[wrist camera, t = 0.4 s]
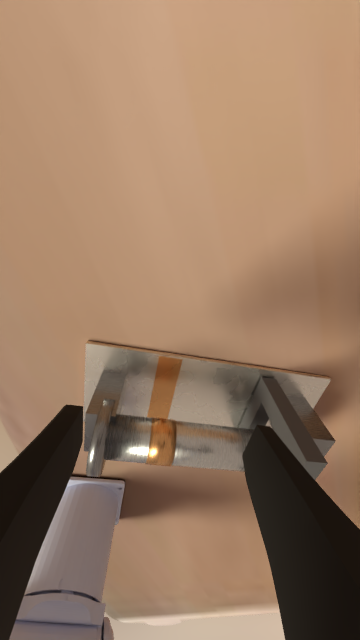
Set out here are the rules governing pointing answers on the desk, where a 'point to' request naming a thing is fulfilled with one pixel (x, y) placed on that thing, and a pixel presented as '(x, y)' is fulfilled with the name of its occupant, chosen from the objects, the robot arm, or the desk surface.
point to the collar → (283, 424)
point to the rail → (181, 407)
